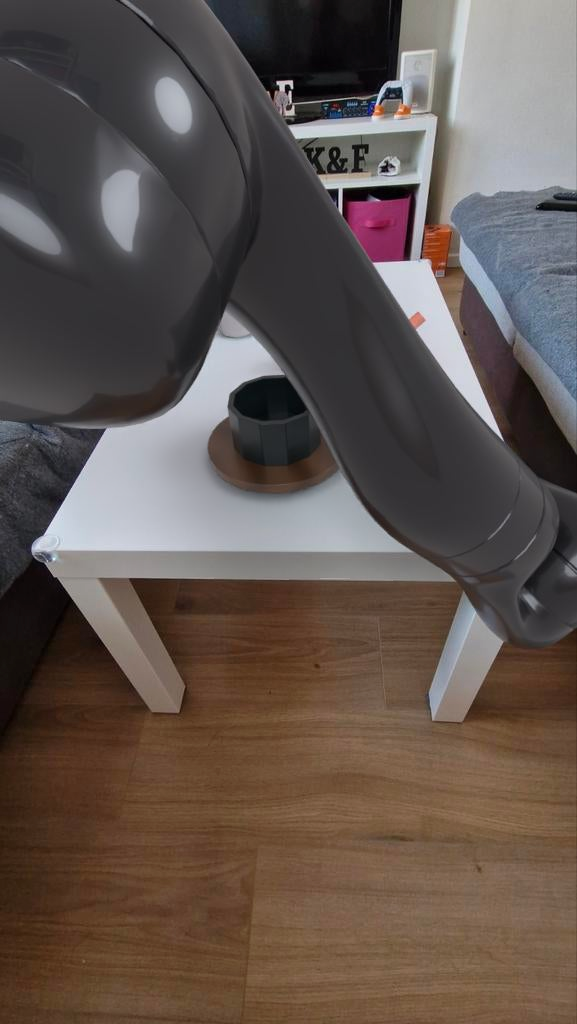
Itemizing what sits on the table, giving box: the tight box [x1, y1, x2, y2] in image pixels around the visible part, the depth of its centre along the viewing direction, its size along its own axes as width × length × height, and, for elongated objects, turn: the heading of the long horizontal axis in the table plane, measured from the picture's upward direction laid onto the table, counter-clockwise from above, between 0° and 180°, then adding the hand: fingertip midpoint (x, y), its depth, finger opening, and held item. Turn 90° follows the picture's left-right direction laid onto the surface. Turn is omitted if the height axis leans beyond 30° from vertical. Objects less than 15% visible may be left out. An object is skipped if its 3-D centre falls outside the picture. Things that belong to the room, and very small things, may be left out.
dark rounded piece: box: [207, 374, 340, 494], centre depth 59 cm, size 18×18×15 cm
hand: (335, 353), depth 55 cm, fingers closed
